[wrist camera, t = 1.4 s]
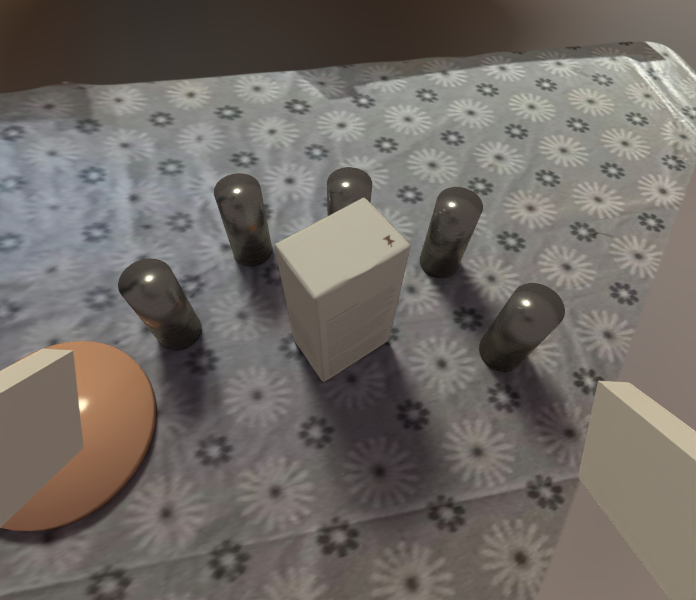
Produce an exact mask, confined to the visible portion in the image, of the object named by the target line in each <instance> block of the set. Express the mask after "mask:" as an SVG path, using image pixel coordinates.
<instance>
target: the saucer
mask: <svg viewBox="0 0 696 600" xmlns="http://www.w3.org/2000/svg"><path fill="white" fill-rule="evenodd" d="M43 349H57V350H73V353H74V363H75V372H76V381H77V391H78V400H79V409H80V418H81V428H82V437H83V446H84V448H83V449H82V450H81V451H80V452H79V453H78V454H77V455H76V456H74V457H73V458H72V459H71V460H70V461H69V462H68V463H67V464H66V465H65V466H64V467H63V468H62V469H61V470H60V471H59V472H58V473H57V474H56V475H55V476H54V477H53V478H52V479H51V480H50V481H49V482H48V483H47V484H45V485H44V486H43V487H42V488H41V489H40V490H39V491H38V492H37V493H36V494H35V495H34V496H33V497H32V498H31V499H30V500H29V501H28V502H27V503H26V504H25V505H24V506H23V507H22V508H21V509H20V510H19V511H17V512H16V513H15V514H14V515H13V516H12V517H11V518H10V519H9V520H8V521H7V522H6V523H5V524H4V525H3V526H2V527H1V528H4V529H9V530H16V531H43V530H50V529H54V528H58V527H62V526H65V525H68V524H71V523H73V522H76V521H78V520H80V519H82V518H84V517H86V516H88V515H90V514H91V513H93V512H94V511H96V510H97V509H99V508H101V507H102V506H103V505H105V504H106V503H107V502H108V501H110V500H111V499H112V498H113V497H114V496H115V495H116V494H117V493H118V492H119V491H120V490H121V489H122V488H123V487H124V486H125V485H126V484H127V483H128V482H129V480H130V479H131V478H132V477H133V475H134V474H135V472H136V471H137V469H138V468H139V466H140V465H141V463H142V461H143V459H144V457H145V455H146V454H147V452H148V449H149V446H150V444H151V441H152V438H153V434H154V430H155V425H156V416H157V413H156V400H155V394H154V391H153V388H152V385H151V383H150V381H149V379H148V377H147V375H146V374H145V372H144V371H143V370H142V368H141V367H140V366H139V365H138V364H137V363H136V362H135V361H134V360H133V359H132V358H131V357H130V356H128V355H127V354H125V353H124V352H122V351H121V350H118V349H116V348H114V347H112V346H109V345H106V344H102V343H97V342H88V341H77V342H67V343H61V344H56V345H53V346H50V347H46V348H43ZM36 352H37V351H36ZM34 353H35V352H34ZM34 353H32V354H34ZM32 354H30V355H32ZM30 355H28V356H30ZM28 356H26V357H28ZM26 357H24V358H26ZM24 358H22V359H24ZM22 359H20V360H22ZM20 360H19V361H20ZM17 362H18V361H17ZM14 364H15V363H14ZM12 365H13V364H12Z"/></svg>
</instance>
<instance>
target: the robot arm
mask: <svg viewBox="0 0 696 600" xmlns="http://www.w3.org/2000/svg"><path fill="white" fill-rule="evenodd" d="M83 448H84V446H83V437H82V428H81V418H80V409H79V400H78V391H77V381H76V372H75V363H74V353H73V350H57V349H41V350H39V351H37V352H35V353H34V354H32V355H30V356H28V357H26V358H24V359H22V360H20V361H18V362H16V363H15V364H13V365H11V366H9V367H7V368H5V369H3V370H1V371H0V528H1V527H2V526H3V525H4V524H5V523H6V522H7V521H8V520H9V519H10V518H11V517H12V516H13V515H14V514H15V513H16V512H17V511H19V510H20V509H21V508H22V507H23V506H24V505H25V504H26V503H27V502H28V501H29V500H30V499H31V498H32V497H33V496H34V495H35V494H36V493H37V492H38V491H39V490H40V489H41V488H42V487H43V486H44V485H45V484H47V483H48V482H49V481H50V480H51V479H52V478H53V477H54V476H55V475H56V474H57V473H58V472H59V471H60V470H61V469H62V468H63V467H64V466H65V465H66V464H67V463H68V462H69V461H70V460H71V459H72V458H73V457H74V456H76V455H77V454H78V453H79V452H80V451H81V450H82V449H83ZM578 478H579V479H580V480H581V482H582V483H583V484H584V486H585V487H586V488H587V490H588V491H589V492H590V493H591V495H592V496H593V498H594V499H595V500H596V502H597V503H598V504H599V506H600V507H601V508H602V510H603V511H604V512H605V514H606V515H607V516H608V517H609V519H610V520H611V522H612V523H613V524H614V526H615V527H616V528H617V529H618V531H619V532H620V534H621V535H622V536H623V538H624V539H625V540H626V542H627V543H628V544H629V546H630V547H631V548H632V549H633V551H634V552H635V554H636V555H637V556H638V557H639V559H640V560H641V561H642V563H643V564H644V565H645V567H646V568H647V569H648V571H649V572H650V573H651V575H652V576H653V577H654V579H655V580H656V581H657V583H658V584H659V585H660V587H661V588H662V589H663V591H664V592H665V593H666V595H667V596H668V597H669V599H670V600H696V431H694V430H693V429H692V428H690V427H689V426H688V425H686V424H685V423H684V422H682V421H681V420H679V419H678V418H677V417H675V416H674V415H672V414H671V413H670V412H669V411H667V410H666V409H664V408H663V407H662V406H660V405H659V404H658V403H656V402H655V401H654V400H652V399H651V398H649V397H648V396H647V395H645V394H644V393H643V392H641V391H640V390H638V389H637V388H636V387H634V386H633V385H632V384H630V383H627V382H626V383H625V382H610V381H598V384H597V389H596V394H595V399H594V403H593V408H592V413H591V418H590V422H589V427H588V432H587V437H586V441H585V446H584V451H583V456H582V460H581V465H580V470H579V474H578Z"/></svg>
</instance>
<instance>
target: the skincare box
mask: <svg viewBox="0 0 696 600" xmlns="http://www.w3.org/2000/svg"><path fill="white" fill-rule="evenodd" d="M275 251H276V257H277V261H278V266H279V271H280V276H281V280H282V285H283V289H284V294H285V299H286V304H287V309H288V314H289V318H290V323H291V328H292V333H293V338H294V341H295V342H296V344H297V345H298V347H299V348H300V349H301V351H302V352H303V354H304V355H305V357H306V358H307V360H308V361H309V363H310V364H311V366H312V367H313V369H314V370H315V372H316V373H317V375H318V376H319V378H320V379H321V380H322V381H323V382H325V381H327V380H328V379H330V378H331V377H333V376H335V375H336V374H338V373H339V372H341V371H342V370H344V369H346V368H347V367H349V366H350V365H352V364H353V363H355V362H356V361H358V360H359V359H361V358H362V357H364V356H366V355H367V354H369V353H370V352H372V351H373V350H375V349H376V348H378V347H379V346H381V345H383V344H384V343H386V342H387V341H388V340H389V337H390V333H391V328H392V324H393V319H394V315H395V311H396V307H397V302H398V298H399V294H400V290H401V285H402V281H403V277H404V272H405V268H406V264H407V260H408V256H409V251H410V244H409V243H408V242H407V241H406V240H405V239H404V238H403V237H402V236H401V235H400V234H399V233H398V232H397V231H396V230H395V229H394V228H393V227H392V226H391V225H390V224H389V222H388V221H387V220H386V219H385V218H384V217H383V216H382V215H381V214H380V213H379V212H378V211H377V210H376V209H375V207H374V206H373V205H372V204H371V203H370V202H369V201H368V200H367V199H365V198H362V199H360V200H358V201H356V202H354V203H352V204H350V205H349V206H347V207H345V208H343V209H341V210H339V211H337V212H335V213H333V214H331V215H330V216H328V217H326V218H324V219H322V220H320V221H318V222H316V223H315V224H313V225H311V226H309V227H307V228H305V229H303V230H301V231H299V232H297V233H296V234H294V235H292V236H290V237H288V238H286V239H284V240H282V241H280V242H278V243H276V244H275Z"/></svg>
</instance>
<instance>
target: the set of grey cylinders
mask: <svg viewBox="0 0 696 600" xmlns="http://www.w3.org/2000/svg"><path fill="white" fill-rule="evenodd" d="M371 192H372V180H371V178H370V177H369V175H368V174H367V173H365V172H364V171H362V170H360V169H357V168H352V167H346V168H341V169H338V170H336V171H334V172H333V173H332V174H331V175H330V176H329V178H328V181H327V211H328V216H330V215H331V214H333V213H335V212H337V211H339V210H341V209H343V208H345V207H347V206H349V205H350V204H352V203H354V202H356V201H358V200H360V199H362V198H365V199H367V200H368V201H369V202H370V201H371ZM214 196H215V199H216V202H217V205H218V208H219V211H220V214H221V218H222V221H223V224H224V227H225V230H226V233H227V236H228V239H229V242H230V245H231V248H232V251H233V255H234V257H235V259H236V260H237V261H238V262H239V263H241V264H243V265H246V266H256V265H259V264H262V263H264V262H265V261H266V260H267V259H268V258H269V257H270V255H271V253H272V245H271V240H270V235H269V229H268V224H267V219H266V214H265V209H264V203H263V198H262V193H261V188H260V184H259V182H258V181H257V180H256V179H255V178H254V177H252V176H250V175H247V174H232V175H228V176H226V177H224V178H222V179H221V180H220V181H219V182H218V183H217V184H216V186H215V188H214ZM482 210H483V204H482V201H481V199H480V198H479V197H478V196H477V195H476V194H475V193H474V192H472V191H471V190H468V189H466V188H461V187H452V188H448V189H445V190H444V191H442V192H441V193H440V194H439V196H438V198H437V201H436V205H435V208H434V212H433V215H432V218H431V222H430V225H429V229H428V232H427V235H426V239H425V242H424V246H423V249H422V252H421V256H420V264H421V267H422V268H423V270H424V271H425V272H426V273H428V274H429V275H431V276H433V277H437V278H445V277H449V276H451V275H453V274H454V273H455V272H456V270H457V268H458V266H459V264H460V261H461V259H462V257H463V254H464V252H465V250H466V248H467V245H468V243H469V241H470V238H471V236H472V234H473V231H474V229H475V227H476V225H477V222H478V220H479V218H480V215H481V213H482ZM118 288H119V292H120V293H121V295H122V296H123V297H124V299H125V300H126V301H127V302H128V304H129V305H130V306H131V307H132V309H133V310H134V311H135V312H136V314H137V315H138V316H139V317H140V319H141V320H142V321H143V322H144V324H145V325H146V326H147V327H148V329H149V330H150V331H151V332H152V334H153V335H154V336H155V337H156V339H157V340H158V341H159V342H160V344H161V345H162V346H163V347H165V348H167V349H170V350H182V349H185V348H187V347H189V346H191V345H192V344H193V343H195V342H196V340H197V339H198V338H199V336H200V333H201V323H200V320H199V319H198V317H197V315H196V313H195V311H194V310H193V308H192V306H191V304H190V302H189V301H188V299H187V297H186V295H185V293H184V292H183V290H182V288H181V286H180V284H179V283H178V281H177V279H176V277H175V276H174V274H173V272H172V270H171V268H170V267H169V266H168V265H167V264H166V263H165V262H163V261H161V260H158V259H143V260H140V261H137V262H135V263H133V264H131V265H130V266H129V267H127V268H126V269H125V270H124V272H123V273H122V274H121V276H120V278H119V282H118ZM564 314H565V308H564V304H563V302H562V300H561V298H560V297H559V296H558V294H557V293H555V292H554V291H553V290H552V289H550V288H549V287H547V286H544V285H541V284H537V283H528V284H524V285H522V286H520V287H518V288H517V289H516V290H515V292H514V293H513V294H512V296H511V297H510V299H509V300H508V302H507V303H506V305H505V306H504V308H503V309H502V310H501V312H500V313H499V315H498V316H497V318H496V319H495V321H494V322H493V324H492V325H491V326H490V328H489V329H488V331H487V332H486V334H485V335H484V337H483V338H482V340H481V341H480V345H479V352H480V355H481V357H482V359H483V361H484V362H485V363H486V364H487V365H488V366H490V367H491V368H493V369H495V370H498V371H504V372H506V371H511V370H514V369H515V368H517V367H518V366H519V365H520V364H521V363H522V362H523V361H524V360H525V359H526V358H527V356H528V355H529V354H530V353H531V352H532V351H533V350H534V349H535V348H536V347H537V346H538V345H539V344H540V343H541V342H542V341H543V340H544V339H545V338H546V337H547V336H548V335H549V334H550V333H551V332H552V331H553V330H554V329H555V328H556V327H557V326H558V325H559V324H560V323H561V321H562V320H563V318H564Z"/></svg>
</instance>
